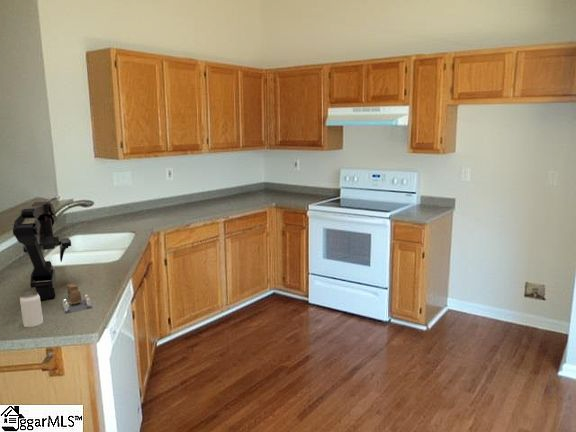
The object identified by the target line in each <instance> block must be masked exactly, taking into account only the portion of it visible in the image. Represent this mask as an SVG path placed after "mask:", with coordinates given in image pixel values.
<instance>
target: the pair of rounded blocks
mask: <svg viewBox="0 0 576 432" xmlns="http://www.w3.org/2000/svg"><path fill="white" fill-rule="evenodd" d="M83 298H84V299H83V300H84V301H85V305H86V307H87V310H90V309H89V308H91V307H92V299H91V297H90V295H89V293H85V294H83ZM61 300H62V304H63V307H62V309H64V310H65V313H68V314H70V313H69V312H70V309H69V303H70V301H68V298H67V297H66V298H62V299H61ZM91 309H92V308H91ZM64 310H63V311H64ZM65 313H64V314H65Z"/></svg>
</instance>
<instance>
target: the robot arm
mask: <svg viewBox="0 0 576 432" xmlns="http://www.w3.org/2000/svg"><path fill="white" fill-rule="evenodd" d="M56 214H57V213H56V210H55V208H54V205H53V204H52V203H51V201H50V200H49V201H35V202H33V203H32V204H31V206H30V207H27V208H23V209H21V212H20V215H19V216H18V217H17V218H16V219H15V220H14V223H13V226H12V227H13V228H12V234H13V236H14V238H15V239H16V241H17V242H19V243H20V244H22V249H23V253H27V255H28V257H29V259H30V261H31V264H32V267H33V268H32V272H31V274H30V283H29V286H30V288H31V289H34V288H35V292H38V295H39V296H40V301H41V302H46V301H50V300H51V301H52V300H55V297H56V292H55V287H54V286H55V284H56V269H54V266H53V264H52V262H51V261H50V260H46V259H45V256H44V254H43V252H42V250H43V251H47V250H54V249H55V248H56V247H57V246H58V247H59V259H60V260H59V261H60V263H62V262H63V258H64V254H65V252H66V250H67V249H69V247H71V246H72V241H71V239H70V238H68V237H65V238H59V236H54V229H53V226H54V225H56V223H58V217H57V215H56ZM27 219H34V220H35V222H31V223H30V222H28V223H27V222H26V223H23V222H25V221H26V220H27ZM38 239H39V241H38Z"/></svg>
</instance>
